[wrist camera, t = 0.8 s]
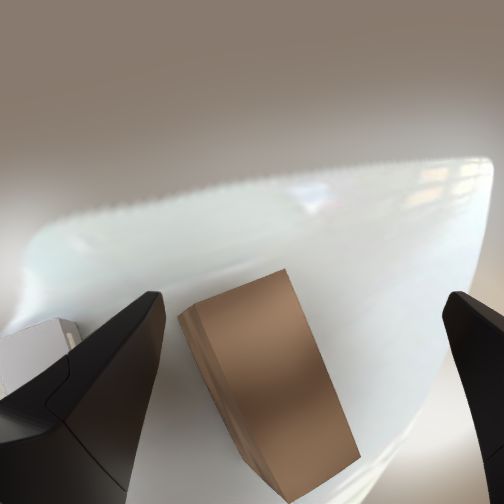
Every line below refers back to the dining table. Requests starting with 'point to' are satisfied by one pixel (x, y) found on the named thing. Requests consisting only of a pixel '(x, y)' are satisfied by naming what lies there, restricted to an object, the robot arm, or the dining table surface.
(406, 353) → the dining table surface
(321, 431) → the brown wooden block
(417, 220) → the dining table surface
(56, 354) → the letter cube
